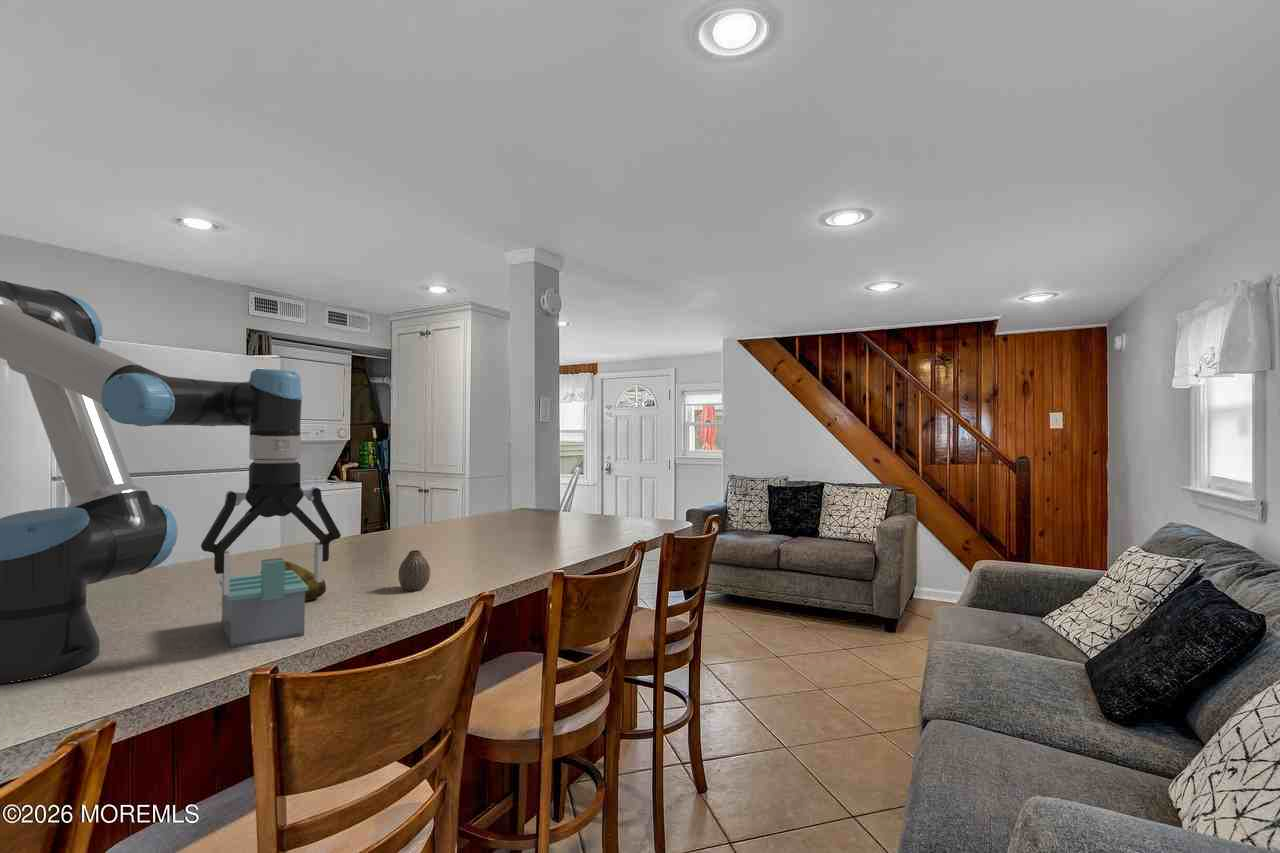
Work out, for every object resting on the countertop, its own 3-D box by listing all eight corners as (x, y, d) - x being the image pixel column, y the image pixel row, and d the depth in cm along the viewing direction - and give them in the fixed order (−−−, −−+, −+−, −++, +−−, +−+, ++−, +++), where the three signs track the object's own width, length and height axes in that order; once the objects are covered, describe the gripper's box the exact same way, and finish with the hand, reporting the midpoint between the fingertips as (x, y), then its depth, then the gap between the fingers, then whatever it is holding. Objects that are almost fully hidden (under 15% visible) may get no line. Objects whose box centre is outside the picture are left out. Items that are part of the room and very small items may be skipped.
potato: (299, 608, 127) (299, 569, 127) (252, 601, 131) (252, 563, 131) (331, 597, 135) (331, 560, 135) (285, 591, 139) (286, 556, 139)
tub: (230, 648, 104) (231, 600, 104) (221, 624, 116) (222, 582, 116) (304, 635, 111) (305, 590, 111) (288, 614, 123) (289, 574, 123)
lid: (231, 607, 100) (232, 566, 100) (219, 582, 116) (220, 546, 116) (313, 595, 108) (314, 557, 108) (292, 573, 123) (292, 540, 123)
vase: (434, 585, 147) (435, 548, 147) (421, 593, 140) (422, 554, 140) (406, 584, 147) (407, 547, 147) (392, 592, 140) (393, 553, 140)
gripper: (185, 464, 94) (183, 604, 94) (359, 460, 110) (358, 580, 110) (182, 462, 100) (181, 593, 100) (348, 458, 116) (347, 572, 116)
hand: (273, 586), depth 105 cm, fingers open, 13 cm apart
